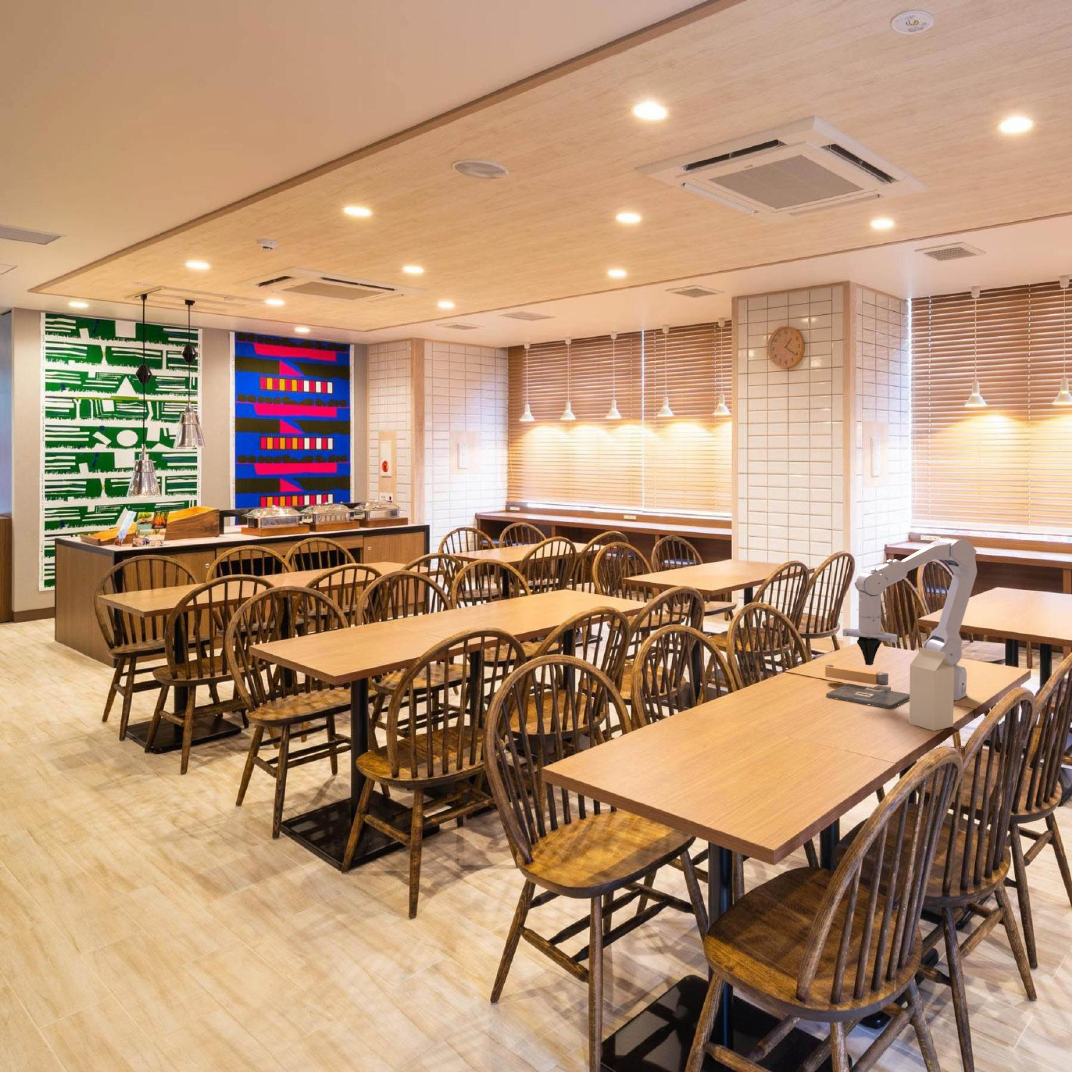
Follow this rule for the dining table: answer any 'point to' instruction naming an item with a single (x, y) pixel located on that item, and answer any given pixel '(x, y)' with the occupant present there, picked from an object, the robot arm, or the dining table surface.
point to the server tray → (869, 695)
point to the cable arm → (856, 674)
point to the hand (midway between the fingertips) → (869, 664)
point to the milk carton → (931, 690)
